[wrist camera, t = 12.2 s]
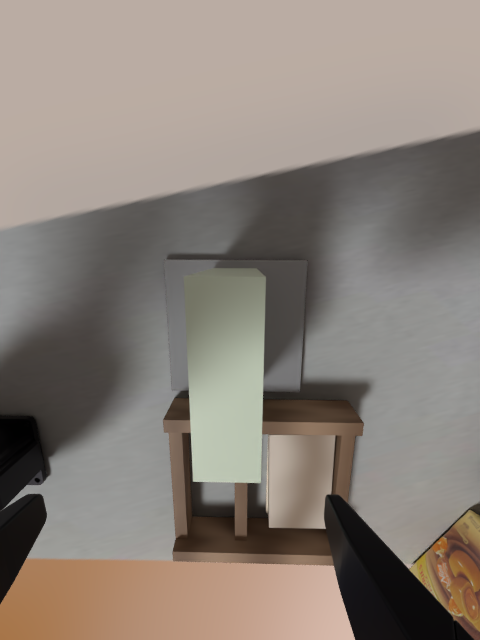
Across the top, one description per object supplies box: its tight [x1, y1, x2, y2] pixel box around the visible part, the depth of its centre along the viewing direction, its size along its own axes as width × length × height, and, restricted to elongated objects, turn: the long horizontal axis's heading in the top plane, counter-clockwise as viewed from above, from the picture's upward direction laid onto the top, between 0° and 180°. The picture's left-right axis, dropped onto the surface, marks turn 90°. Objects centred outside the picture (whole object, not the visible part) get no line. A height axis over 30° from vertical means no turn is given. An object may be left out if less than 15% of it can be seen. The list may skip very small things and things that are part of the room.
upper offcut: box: [268, 434, 335, 529], centre depth 22 cm, size 5×9×1 cm, turn 1°
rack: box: [163, 398, 364, 566], centre depth 21 cm, size 14×13×3 cm
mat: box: [164, 260, 308, 392], centre depth 20 cm, size 10×10×1 cm
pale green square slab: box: [184, 268, 266, 483], centre depth 15 cm, size 3×9×9 cm, turn 0°
